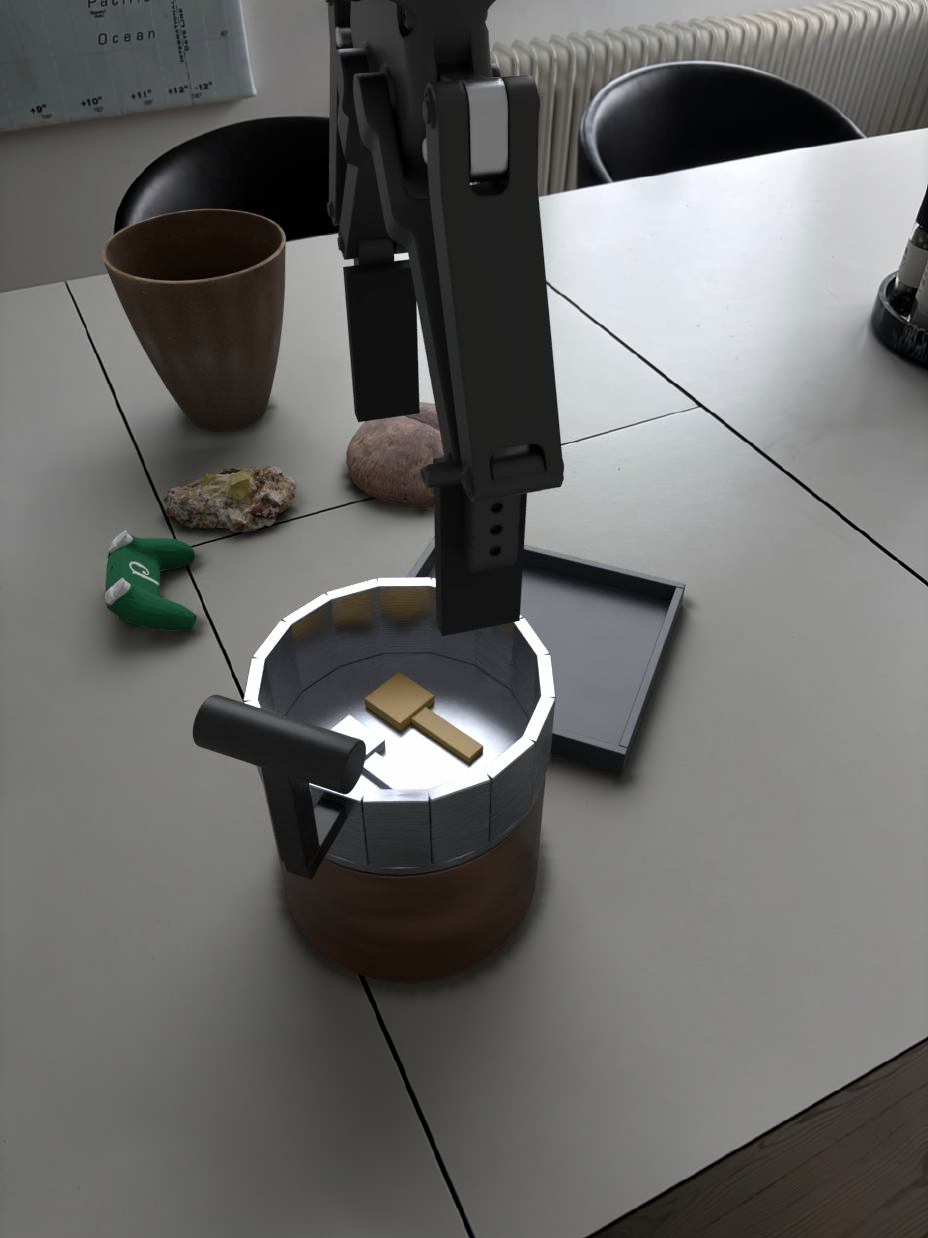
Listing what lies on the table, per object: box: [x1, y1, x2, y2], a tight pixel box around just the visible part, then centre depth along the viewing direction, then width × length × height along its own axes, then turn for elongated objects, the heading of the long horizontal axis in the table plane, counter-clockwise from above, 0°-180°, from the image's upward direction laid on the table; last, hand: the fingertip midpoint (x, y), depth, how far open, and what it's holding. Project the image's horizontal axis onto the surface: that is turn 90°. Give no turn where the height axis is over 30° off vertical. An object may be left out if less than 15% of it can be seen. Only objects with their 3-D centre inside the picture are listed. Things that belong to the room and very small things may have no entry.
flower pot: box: [101, 208, 287, 432], centre depth 89 cm, size 15×15×16 cm
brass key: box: [365, 672, 483, 763], centre depth 51 cm, size 7×3×1 cm, turn 49°
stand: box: [263, 773, 547, 984], centre depth 54 cm, size 14×14×10 cm
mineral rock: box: [163, 465, 297, 534], centre depth 82 cm, size 11×4×8 cm
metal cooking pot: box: [192, 577, 556, 880], centre depth 45 cm, size 18×14×13 cm
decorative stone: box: [345, 401, 444, 507], centre depth 85 cm, size 12×12×6 cm
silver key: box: [330, 715, 425, 789], centre depth 49 cm, size 7×3×1 cm, turn 49°
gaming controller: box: [104, 529, 198, 632], centre depth 74 cm, size 9×4×6 cm
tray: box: [406, 535, 687, 776], centre depth 70 cm, size 17×19×2 cm
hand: (427, 505), depth 38 cm, fingers open, 13 cm apart
